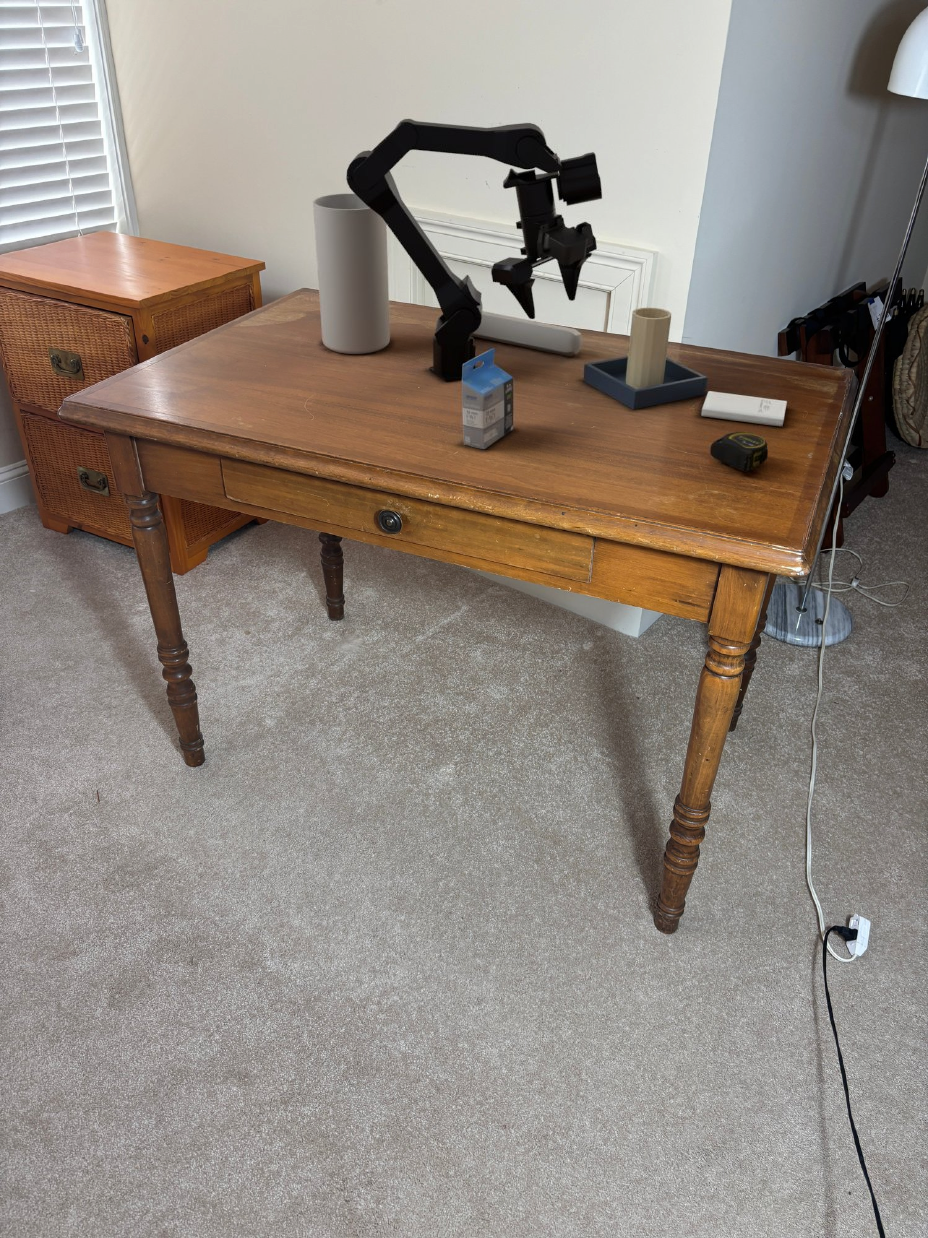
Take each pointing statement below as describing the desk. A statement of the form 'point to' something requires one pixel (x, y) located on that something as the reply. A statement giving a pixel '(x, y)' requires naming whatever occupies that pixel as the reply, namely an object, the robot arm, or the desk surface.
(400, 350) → the desk surface
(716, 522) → the desk surface
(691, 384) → the tray
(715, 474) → the desk surface
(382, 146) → the robot arm
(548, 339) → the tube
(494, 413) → the label tape box
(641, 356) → the pencil cup
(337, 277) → the cylinder vase
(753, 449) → the tape measure
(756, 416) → the hard drive
